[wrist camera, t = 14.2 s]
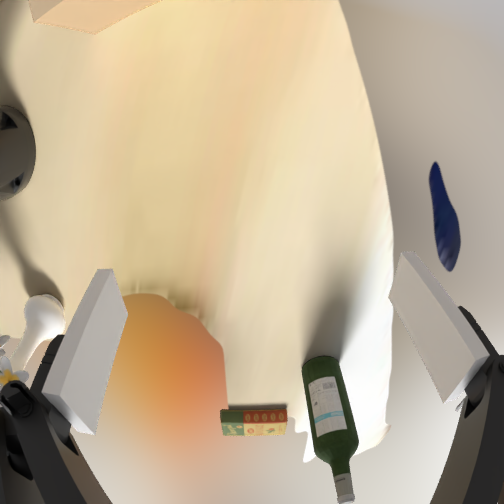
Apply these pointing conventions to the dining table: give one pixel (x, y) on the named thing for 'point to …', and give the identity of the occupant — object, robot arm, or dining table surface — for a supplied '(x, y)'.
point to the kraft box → (85, 12)
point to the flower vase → (32, 335)
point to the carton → (253, 422)
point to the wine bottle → (331, 421)
